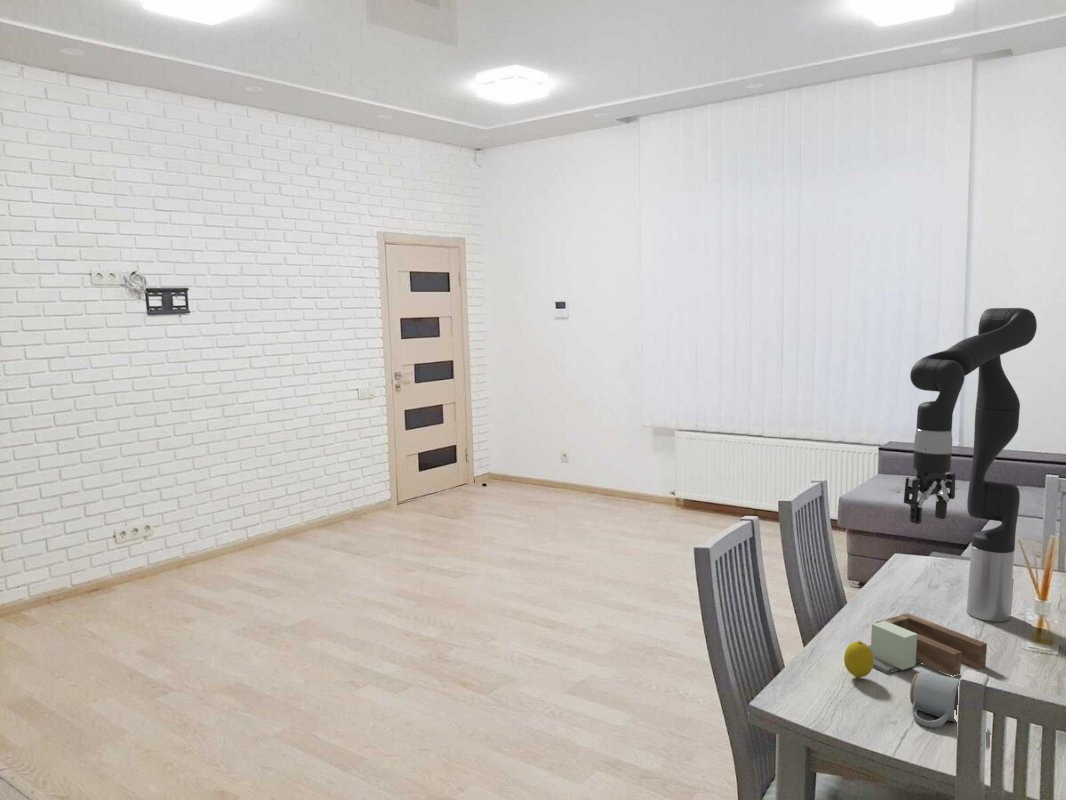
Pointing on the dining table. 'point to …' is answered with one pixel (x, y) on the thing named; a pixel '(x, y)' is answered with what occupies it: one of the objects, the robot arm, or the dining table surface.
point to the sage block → (894, 645)
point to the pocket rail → (942, 645)
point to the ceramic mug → (934, 697)
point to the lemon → (858, 659)
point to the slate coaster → (884, 665)
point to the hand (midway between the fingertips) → (928, 520)
